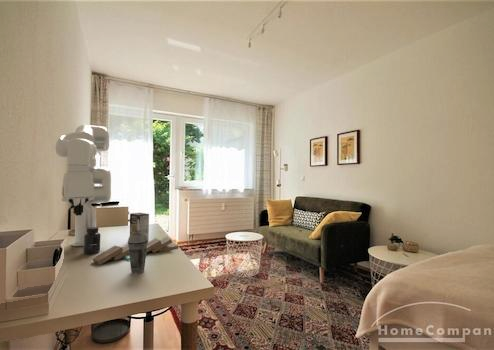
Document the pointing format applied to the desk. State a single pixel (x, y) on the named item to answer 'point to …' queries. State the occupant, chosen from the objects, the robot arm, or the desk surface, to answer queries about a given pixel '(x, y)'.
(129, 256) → the teal domino
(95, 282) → the desk surface
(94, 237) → the supplement bottle
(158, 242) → the domino
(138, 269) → the beverage cup
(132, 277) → the desk surface
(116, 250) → the domino
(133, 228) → the coffee box
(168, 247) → the domino
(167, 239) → the domino
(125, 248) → the domino
